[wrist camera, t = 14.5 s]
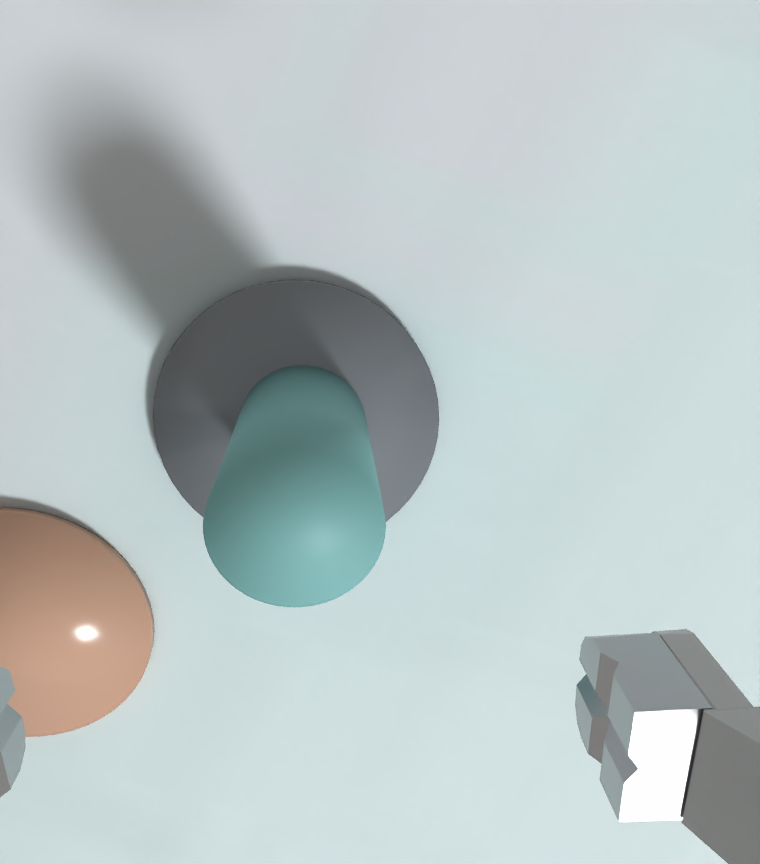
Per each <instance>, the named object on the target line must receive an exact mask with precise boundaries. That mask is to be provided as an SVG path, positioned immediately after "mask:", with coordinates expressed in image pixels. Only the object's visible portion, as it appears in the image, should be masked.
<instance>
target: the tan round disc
mask: <svg viewBox="0 0 760 864" xmlns="http://www.w3.org/2000/svg"><path fill="white" fill-rule="evenodd" d="M153 640H154V619H153V613H152V609H151V604H150V601H149V598H148V596H147V593H146V591H145V588H144V587H143V585H142V583H141V581H140V580H139V578H138V576H137V574H136V573H135V572H134V570H133V569H132V568H131V567H130V565H129V564H128V563H127V561H126V560H125V559H124V558H123V557H122V556H121V555H120V554H119V553H118V552H117V551H116V550H115V549H114V548H112V547H111V546H110V545H109V544H107V543H106V542H105V541H104V540H102V539H101V538H99V537H98V536H96V535H95V534H93V533H91V532H90V531H88V530H87V529H85V528H83V527H81V526H79V525H76V524H74V523H72V522H70V521H68V520H65V519H62V518H59V517H56V516H53V515H51V514H46V513H42V512H38V511H33V510H26V509H18V508H0V666H1V667H3V668H5V669H7V670H9V671H10V674H11V677H12V680H13V684H14V687H15V692H14V693H13V695H12V697H11V698H10V700H9V702H8V703H7V704H8V705H9V706H11V707H12V708H13V709H14V710H15V711H16V712H18V713H19V714H20V715H21V716H22V719H23V723H24V728H25V737H33V736H47V735H54V734H60V733H64V732H68V731H72V730H75V729H78V728H81V727H84V726H87V725H89V724H91V723H93V722H95V721H97V720H99V719H101V718H103V717H104V716H106V715H107V714H109V713H110V712H112V711H113V710H114V709H116V708H117V707H118V706H119V705H120V704H121V703H123V702H124V701H125V700H126V699H127V697H128V696H129V695H130V694H131V693H132V692H133V690H134V689H135V688H136V686H137V684H138V683H139V681H140V680H141V678H142V676H143V674H144V671H145V669H146V667H147V664H148V661H149V659H150V655H151V651H152V647H153Z"/></svg>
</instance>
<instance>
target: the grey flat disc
mask: <svg viewBox="0 0 760 864" xmlns="http://www.w3.org/2000/svg"><path fill="white" fill-rule="evenodd" d="M297 365H309V366H315V367H320V368H323V369H326V370H328V371H331V372H333V373H335V374H336V375H338V376H340V377H341V378H342V379H343V380H345V381H346V382H347V383H348V384H349V385H350V386H351V387H352V388H353V389H354V391H355V392H356V394H357V395H358V397H359V399H360V401H361V403H362V405H363V408H364V412H365V416H366V421H367V426H368V431H369V437H370V442H371V447H372V452H373V457H374V462H375V467H376V472H377V477H378V482H379V488H380V493H381V498H382V503H383V508H384V513H385V522H386V521H387V520H389V519H390V518H391V517H392V516H393V515H394V514H396V513H397V512H398V511H399V510H400V509H401V508H402V507H403V506H404V505H405V504H406V502H407V501H408V500H409V499H410V498H411V497H412V495H413V494H414V492H415V491H416V490H417V488H418V487H419V485H420V484H421V482H422V480H423V478H424V476H425V474H426V472H427V470H428V468H429V465H430V463H431V460H432V457H433V455H434V451H435V446H436V442H437V437H438V426H439V409H438V399H437V394H436V388H435V384H434V381H433V378H432V375H431V372H430V369H429V367H428V365H427V363H426V361H425V359H424V357H423V355H422V353H421V351H420V350H419V348H418V347H417V345H416V344H415V342H414V341H413V339H412V338H411V336H410V335H409V334H408V332H407V331H406V330H405V329H404V328H403V327H402V326H401V325H400V324H399V323H398V321H397V320H396V319H394V318H393V317H392V316H391V315H390V314H388V313H387V312H386V311H385V310H384V309H382V308H381V307H379V306H378V305H376V304H375V303H373V302H372V301H370V300H368V299H367V298H365V297H363V296H361V295H359V294H356V293H354V292H352V291H350V290H348V289H344V288H341V287H338V286H335V285H332V284H327V283H321V282H315V281H307V280H284V281H274V282H268V283H263V284H259V285H255V286H251V287H248V288H246V289H243V290H241V291H238V292H235V293H233V294H231V295H229V296H227V297H226V298H224V299H222V300H220V301H218V302H217V303H215V304H214V305H213V306H211V307H210V308H208V309H207V310H206V311H204V312H203V313H202V314H201V315H200V316H199V317H198V318H197V319H196V320H195V321H194V322H193V323H191V324H190V325H189V326H188V327H187V329H186V330H185V331H184V332H183V334H182V335H181V336H180V337H179V339H178V340H177V341H176V343H175V344H174V346H173V347H172V349H171V351H170V353H169V355H168V356H167V358H166V360H165V362H164V365H163V367H162V370H161V373H160V375H159V378H158V382H157V387H156V391H155V396H154V408H153V420H154V433H155V438H156V443H157V447H158V451H159V454H160V457H161V459H162V462H163V465H164V467H165V469H166V471H167V473H168V475H169V477H170V479H171V481H172V482H173V484H174V485H175V487H176V488H177V490H178V491H179V492H180V494H181V495H182V497H183V498H184V499H185V500H186V501H187V502H188V503H189V504H190V505H191V507H192V508H193V509H194V510H195V511H197V512H198V513H199V514H200V515H201V516H202V517H204V512H205V508H206V504H207V501H208V498H209V496H210V493H211V490H212V487H213V485H214V482H215V479H216V477H217V474H218V471H219V469H220V466H221V463H222V460H223V458H224V455H225V452H226V450H227V447H228V444H229V441H230V439H231V436H232V433H233V431H234V428H235V425H236V423H237V420H238V417H239V414H240V412H241V409H242V406H243V404H244V402H245V399H246V397H247V396H248V394H249V392H250V391H251V390H252V388H253V387H254V386H255V385H256V384H257V383H258V382H259V381H260V380H261V379H263V378H264V377H265V376H267V375H268V374H270V373H272V372H274V371H276V370H279V369H282V368H285V367H289V366H297Z"/></svg>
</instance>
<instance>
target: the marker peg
mask: <svg viewBox="0 0 760 864" xmlns="http://www.w3.org/2000/svg"><path fill="white" fill-rule="evenodd" d="M385 529H386V523H385V513H384V508H383V503H382V498H381V493H380V488H379V482H378V477H377V472H376V467H375V462H374V457H373V452H372V447H371V442H370V437H369V431H368V426H367V421H366V416H365V412H364V408H363V405H362V403H361V401H360V399H359V397H358V395H357V394H356V392H355V391H354V389H353V388H352V387H351V386H350V385H349V384H348V383H347V382H346V381H345V380H343V379H342V378H341V377H340V376H338V375H336V374H335V373H333V372H331V371H328V370H326V369H323V368H320V367H315V366H309V365H297V366H289V367H285V368H282V369H279V370H276V371H274V372H272V373H270V374H268V375H267V376H265V377H264V378H263V379H261V380H260V381H259V382H258V383H257V384H256V385H255V386H254V387H253V388H252V390H251V391H250V392H249V394H248V396H247V397H246V399H245V402H244V404H243V406H242V409H241V412H240V414H239V417H238V420H237V423H236V425H235V428H234V431H233V433H232V436H231V439H230V441H229V444H228V447H227V450H226V452H225V455H224V458H223V460H222V463H221V466H220V469H219V471H218V474H217V477H216V479H215V482H214V485H213V487H212V490H211V493H210V496H209V498H208V501H207V504H206V508H205V512H204V520H203V534H204V539H205V545H206V548H207V551H208V553H209V556H210V558H211V560H212V562H213V564H214V565H215V567H216V568H217V570H218V571H219V572H220V574H221V575H222V576H223V577H224V578H225V579H226V580H227V581H228V582H229V583H230V584H231V585H232V586H234V587H235V588H236V589H238V590H239V591H241V592H242V593H244V594H245V595H247V596H249V597H251V598H253V599H255V600H258V601H261V602H264V603H267V604H271V605H276V606H283V607H305V606H313V605H317V604H322V603H325V602H328V601H330V600H333V599H335V598H337V597H339V596H341V595H343V594H345V593H347V592H348V591H350V590H351V589H353V588H354V587H355V586H356V585H357V584H359V583H360V582H361V581H362V580H363V579H364V578H365V577H366V576H367V575H368V573H369V572H370V571H371V569H372V568H373V566H374V565H375V563H376V561H377V559H378V557H379V555H380V553H381V550H382V547H383V543H384V538H385Z"/></svg>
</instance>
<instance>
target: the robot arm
mask: <svg viewBox="0 0 760 864" xmlns="http://www.w3.org/2000/svg"><path fill="white" fill-rule="evenodd" d="M579 660H580V662H581V664H582V666H583V668H584V670H585V672H586V675H585V676H584V677H583V679H582V680H581V681H580V682H579V683H578V684H577V687H576V700H575V707H576V716H577V724H578V728H579V731H580V735H581V738H582V741H583V743H584V746H585V748H586V750H587V753H588V754H589V755H591V756H592V757H593V758H595V759H596V760H597V761H599V762H600V763H601V764H602V765H601V773H600V782H601V784H602V786H603V788H604V791H605V793H606V795H607V797H608V799H609V801H610V804H611V806H612V808H613V810H614V812H615V815H616V817H617V819H618V821H619V822H631V821H657V820H682V823H683V824H684V825H685V826H686V827H687V828H688V829H689V830H691V831H692V832H693V833H694V834H695V835H696V836H697V837H698V838H700V839H701V840H702V841H703V842H704V843H705V844H706V845H708V846H709V847H710V848H711V849H712V850H713V851H714V852H716V853H717V854H718V855H719V856H720V857H721V858H722V859H723V860H725V861H726V862H727V863H728V864H760V707H753V705H752V704H751V703H750V702H749V701H748V699H747V698H746V697H745V696H744V694H743V693H742V692H741V691H740V689H739V688H738V687H737V686H736V685H735V683H734V682H733V681H732V680H731V678H730V677H729V676H728V675H727V673H726V672H725V671H724V670H723V669H722V667H721V666H720V665H719V664H718V662H717V661H716V660H715V659H714V657H713V656H712V655H711V654H710V653H709V651H708V650H707V649H706V648H705V646H704V645H703V644H702V643H701V641H700V640H699V639H698V638H697V637H696V635H695V634H694V633H693V632H691V631H689V630H687V629H681V630H668V631H655V632H652V633H641V634H624V635H606V636H588V637H585V638H584V640H583V642H582V645H581V651H580V659H579ZM14 692H15V687H14V684H13V680H12V677H11V674H10V671H9V670H7V669H5V668H3V667H1V666H0V797H1V796H2V795H4V794H5V793H6V792H8V791H9V790H10V789H11V787H12V785H13V783H14V781H15V779H16V777H17V775H18V773H19V772H20V768H21V764H22V760H23V756H24V751H25V728H24V723H23V719H22V716H21V715H20V714H19V713H18V712H16V711H15V710H14V709H13V708H12V707H11V706H9V705H8V704H7V703H8V702H9V700H10V698H11V697H12V695H13V693H14Z"/></svg>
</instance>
